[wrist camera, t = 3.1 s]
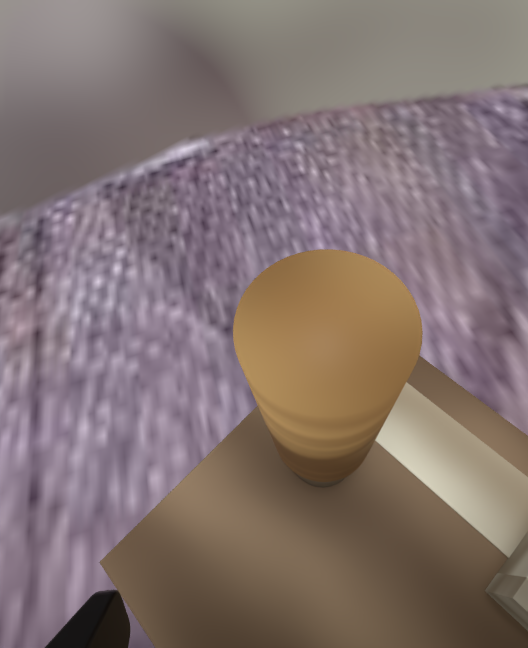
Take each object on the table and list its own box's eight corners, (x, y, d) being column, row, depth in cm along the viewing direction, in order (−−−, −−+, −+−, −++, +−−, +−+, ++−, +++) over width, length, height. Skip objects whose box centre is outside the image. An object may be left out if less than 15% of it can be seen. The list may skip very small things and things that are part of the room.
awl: (324, 513, 17) (333, 461, 7) (265, 453, 19) (196, 329, 8) (377, 452, 18) (462, 318, 7) (318, 398, 19) (318, 222, 9)
